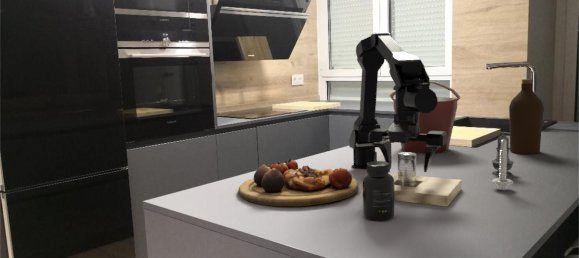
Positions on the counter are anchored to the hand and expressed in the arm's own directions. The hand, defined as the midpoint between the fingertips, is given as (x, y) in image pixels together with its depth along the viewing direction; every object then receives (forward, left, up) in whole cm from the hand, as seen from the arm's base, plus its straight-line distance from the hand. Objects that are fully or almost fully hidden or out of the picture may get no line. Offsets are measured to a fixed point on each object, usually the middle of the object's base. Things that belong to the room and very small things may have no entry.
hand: (407, 170), depth 124 cm
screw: (+21, +12, -6) cm, 25 cm away
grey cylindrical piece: (0, 0, -6) cm, 6 cm away
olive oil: (+22, +65, -6) cm, 69 cm away
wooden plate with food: (-27, -9, -6) cm, 29 cm away
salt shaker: (+19, +29, -6) cm, 35 cm away
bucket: (-11, +59, -6) cm, 60 cm away
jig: (+3, 0, -6) cm, 6 cm away
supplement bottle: (0, -21, -6) cm, 22 cm away
